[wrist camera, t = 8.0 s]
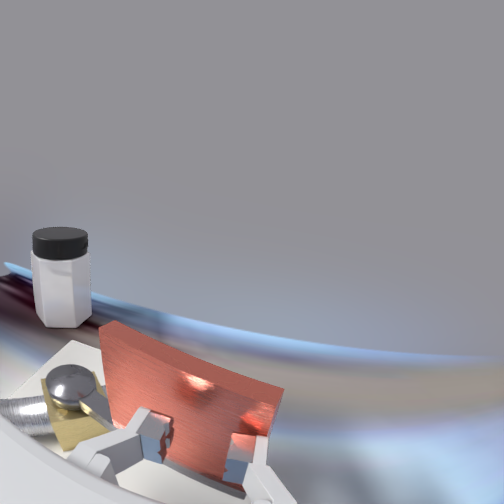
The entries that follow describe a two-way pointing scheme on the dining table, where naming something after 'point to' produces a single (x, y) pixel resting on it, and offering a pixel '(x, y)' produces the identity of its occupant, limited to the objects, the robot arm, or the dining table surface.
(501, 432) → the dining table surface
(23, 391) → the mounting plate
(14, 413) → the valve body
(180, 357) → the lever
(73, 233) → the jar
